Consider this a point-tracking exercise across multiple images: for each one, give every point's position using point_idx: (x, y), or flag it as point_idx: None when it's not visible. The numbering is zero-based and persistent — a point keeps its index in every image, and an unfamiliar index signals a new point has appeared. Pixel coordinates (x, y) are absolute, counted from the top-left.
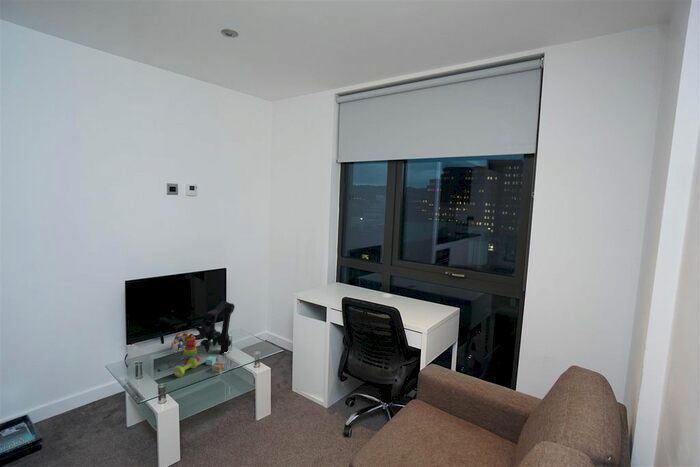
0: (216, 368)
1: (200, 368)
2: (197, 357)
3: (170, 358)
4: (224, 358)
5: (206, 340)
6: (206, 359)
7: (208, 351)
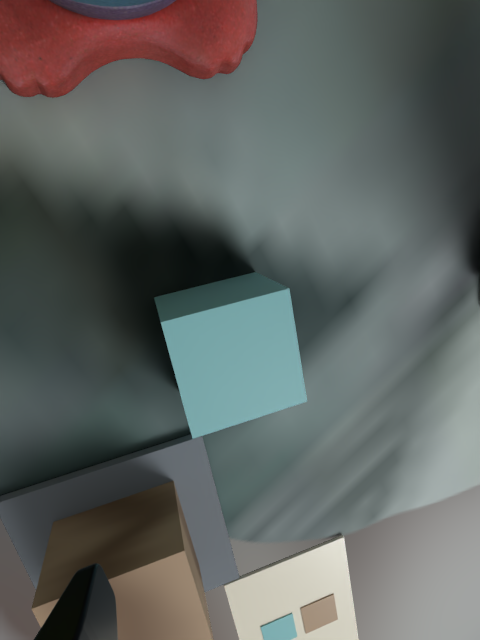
0: None
1: (22, 311)
2: (210, 15)
3: None
4: (400, 367)
5: None
6: (164, 331)
7: (109, 636)
